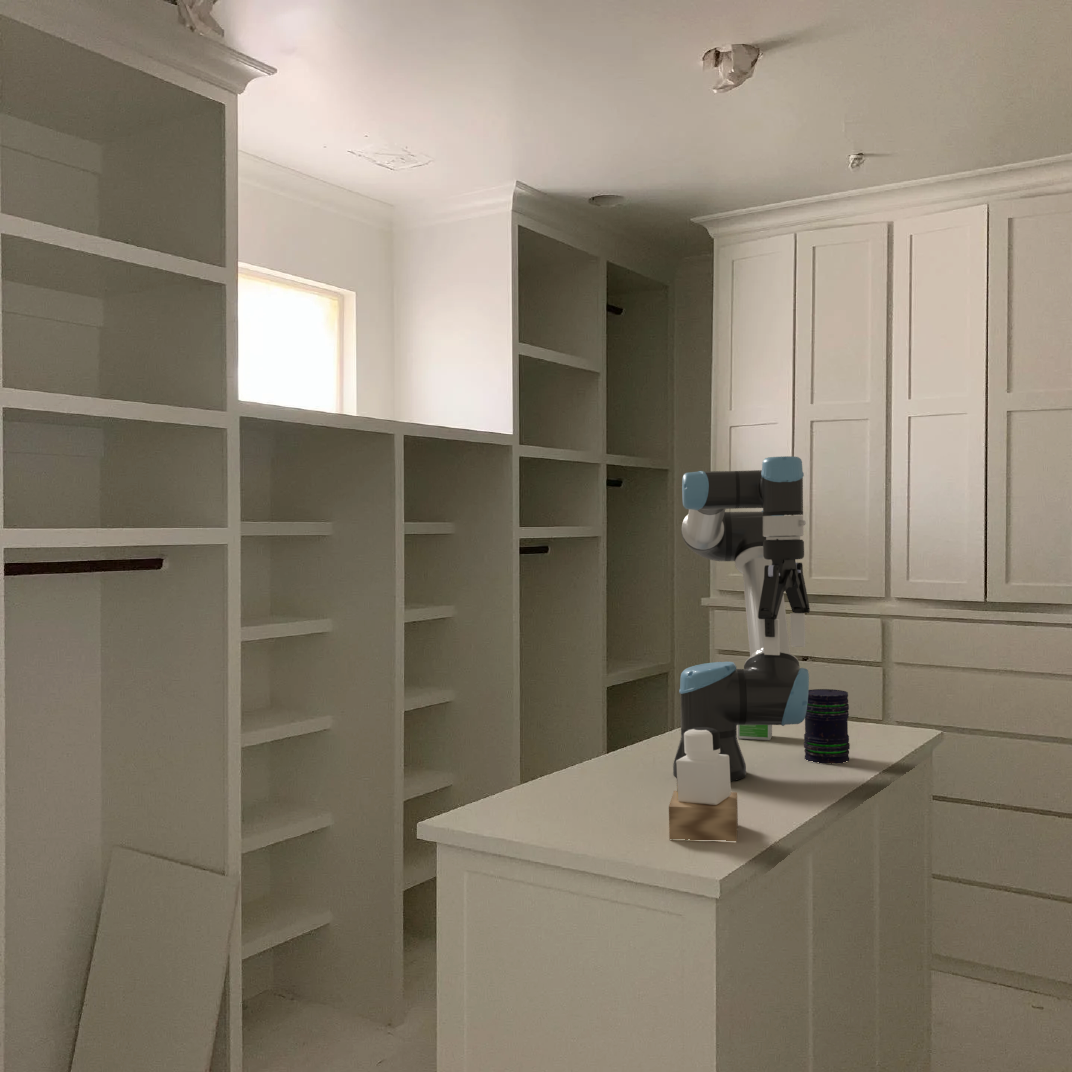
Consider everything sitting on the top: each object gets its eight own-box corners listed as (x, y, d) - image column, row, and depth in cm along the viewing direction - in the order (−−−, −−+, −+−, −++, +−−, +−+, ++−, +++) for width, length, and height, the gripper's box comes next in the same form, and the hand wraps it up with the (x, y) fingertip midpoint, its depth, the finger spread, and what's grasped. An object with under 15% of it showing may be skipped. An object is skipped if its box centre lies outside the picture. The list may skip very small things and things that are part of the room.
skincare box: (736, 739, 263) (735, 675, 263) (739, 734, 270) (738, 672, 270) (771, 740, 261) (770, 676, 261) (773, 735, 267) (772, 673, 267)
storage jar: (841, 766, 232) (840, 696, 232) (797, 761, 237) (796, 693, 237) (855, 757, 240) (854, 690, 240) (813, 753, 246) (811, 687, 245)
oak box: (669, 842, 179) (668, 806, 179) (674, 824, 190) (673, 790, 190) (736, 845, 177) (735, 808, 176) (737, 826, 187) (737, 792, 187)
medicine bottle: (692, 792, 188) (689, 724, 188) (731, 795, 184) (728, 726, 184) (677, 802, 182) (673, 731, 182) (717, 805, 178) (713, 733, 178)
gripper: (778, 539, 190) (780, 659, 190) (824, 536, 211) (826, 644, 211) (738, 540, 194) (740, 657, 195) (788, 537, 215) (789, 642, 215)
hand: (785, 650), depth 203 cm, fingers open, 13 cm apart
